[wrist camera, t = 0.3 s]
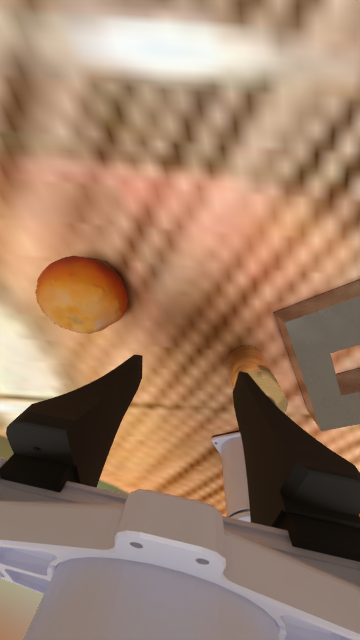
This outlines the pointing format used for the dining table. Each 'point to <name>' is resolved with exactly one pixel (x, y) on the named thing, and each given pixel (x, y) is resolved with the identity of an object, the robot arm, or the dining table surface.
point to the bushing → (256, 373)
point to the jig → (325, 353)
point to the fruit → (81, 294)
